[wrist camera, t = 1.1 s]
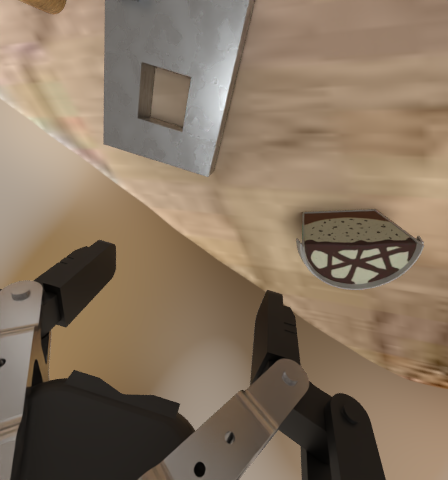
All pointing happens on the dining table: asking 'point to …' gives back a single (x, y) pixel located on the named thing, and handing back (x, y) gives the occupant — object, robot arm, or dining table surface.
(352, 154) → the dining table surface
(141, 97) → the plate
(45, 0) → the gold peg
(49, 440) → the robot arm
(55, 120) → the dining table surface
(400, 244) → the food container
